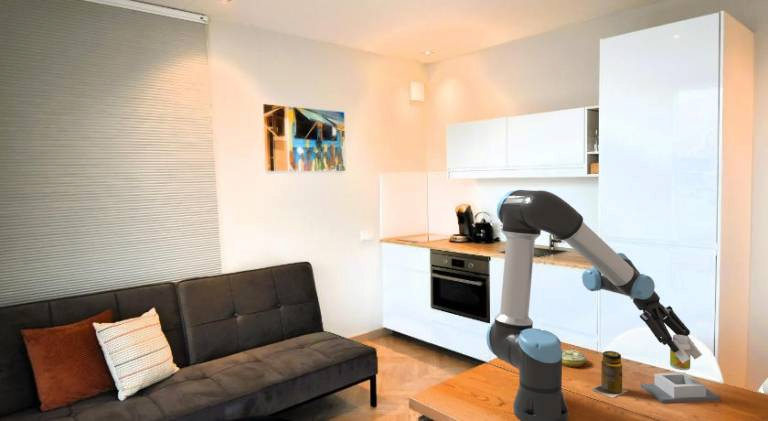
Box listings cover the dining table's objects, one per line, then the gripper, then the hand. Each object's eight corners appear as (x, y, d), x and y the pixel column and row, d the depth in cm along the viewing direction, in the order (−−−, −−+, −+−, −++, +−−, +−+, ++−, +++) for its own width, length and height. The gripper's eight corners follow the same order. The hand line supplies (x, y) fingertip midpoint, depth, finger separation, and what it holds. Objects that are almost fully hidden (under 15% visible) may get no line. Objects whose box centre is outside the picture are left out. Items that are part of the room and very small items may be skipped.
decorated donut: (592, 363, 174) (592, 353, 174) (574, 370, 168) (574, 360, 168) (567, 355, 183) (567, 345, 183) (549, 361, 177) (549, 352, 177)
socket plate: (661, 402, 143) (661, 388, 143) (640, 387, 154) (640, 373, 154) (720, 400, 144) (720, 385, 143) (695, 384, 154) (695, 371, 154)
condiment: (628, 391, 151) (628, 354, 151) (612, 398, 147) (613, 360, 146) (606, 383, 157) (606, 347, 157) (591, 390, 153) (591, 353, 152)
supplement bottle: (666, 365, 150) (666, 335, 149) (677, 362, 152) (677, 332, 151) (683, 372, 145) (683, 340, 144) (694, 368, 147) (694, 337, 146)
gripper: (652, 297, 165) (701, 358, 151) (616, 304, 157) (664, 370, 143) (667, 284, 160) (719, 347, 146) (631, 292, 152) (682, 359, 138)
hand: (692, 358), depth 145 cm, fingers closed on supplement bottle, 5 cm apart
